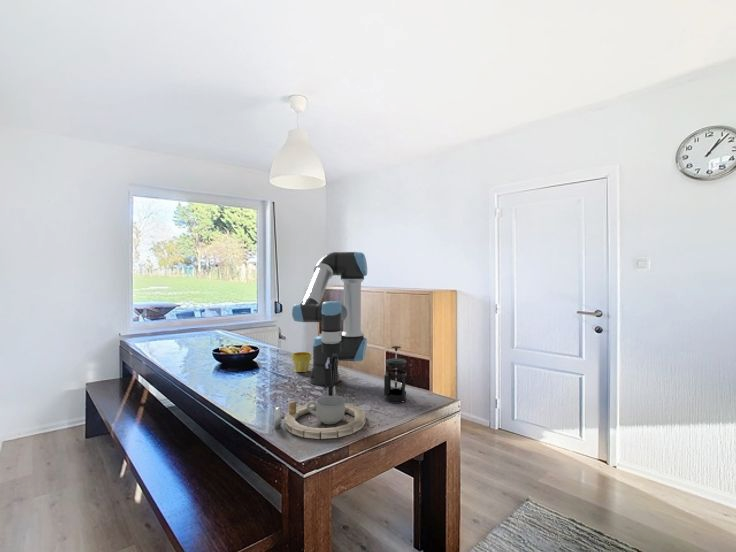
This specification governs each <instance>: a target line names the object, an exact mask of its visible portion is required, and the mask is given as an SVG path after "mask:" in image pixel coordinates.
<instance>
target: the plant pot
mask: <svg viewBox="0 0 736 552" xmlns="http://www.w3.org/2000/svg"><path fill="white" fill-rule="evenodd" d="M291 359H292V361H293V365H294V370H295V372H296V373H298V372H305V373H307V372H309V366H310V362H311V360H312V353H311V352H309V351H299V352H298V351H296V352H293V353H292V356H291Z"/></svg>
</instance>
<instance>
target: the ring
mask: <svg viewBox="0 0 736 552" xmlns="http://www.w3.org/2000/svg"><path fill="white" fill-rule="evenodd" d="M307 404H308V403H306V404H302V405H300V406H297V401H296V400H291V401H289V403H288V412H287V413H286V414H285V415H284V428H285V429H286V430H287V431H288V432H289V433H290V434H292V435H295V436H298V437H300V438H306V439H316V440H320V439H321V440H326V439H337V438H341V437H346V436H348V435H353V434H355V433H356V432H358V431H359V430H361V429H362V428H363V427H364V426H365V424H366V421H367V420H366V416H367V415H366V414H365V411H364V410H363V409H362V408H360V407H358V406H356V405H354V404H350V403H346V402H345V412H344V413H347V414H349V415H350V416H352V417H354V418H353V420H351V421H349V422H348V423H345V424H342V425H339V426H335V427H324V428H323V427H322V428H321V427H310V426H308V425H307V426H306V425H303V424H301V423H299V422H298V421H297V420H298V418H300V417H301V416H304V415H305V414H308V413H310V412H309V411H308V409H307ZM309 407H310V409H311V410H313V411H315V412H316V408H315V405H314V404H310V406H309Z"/></svg>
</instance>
